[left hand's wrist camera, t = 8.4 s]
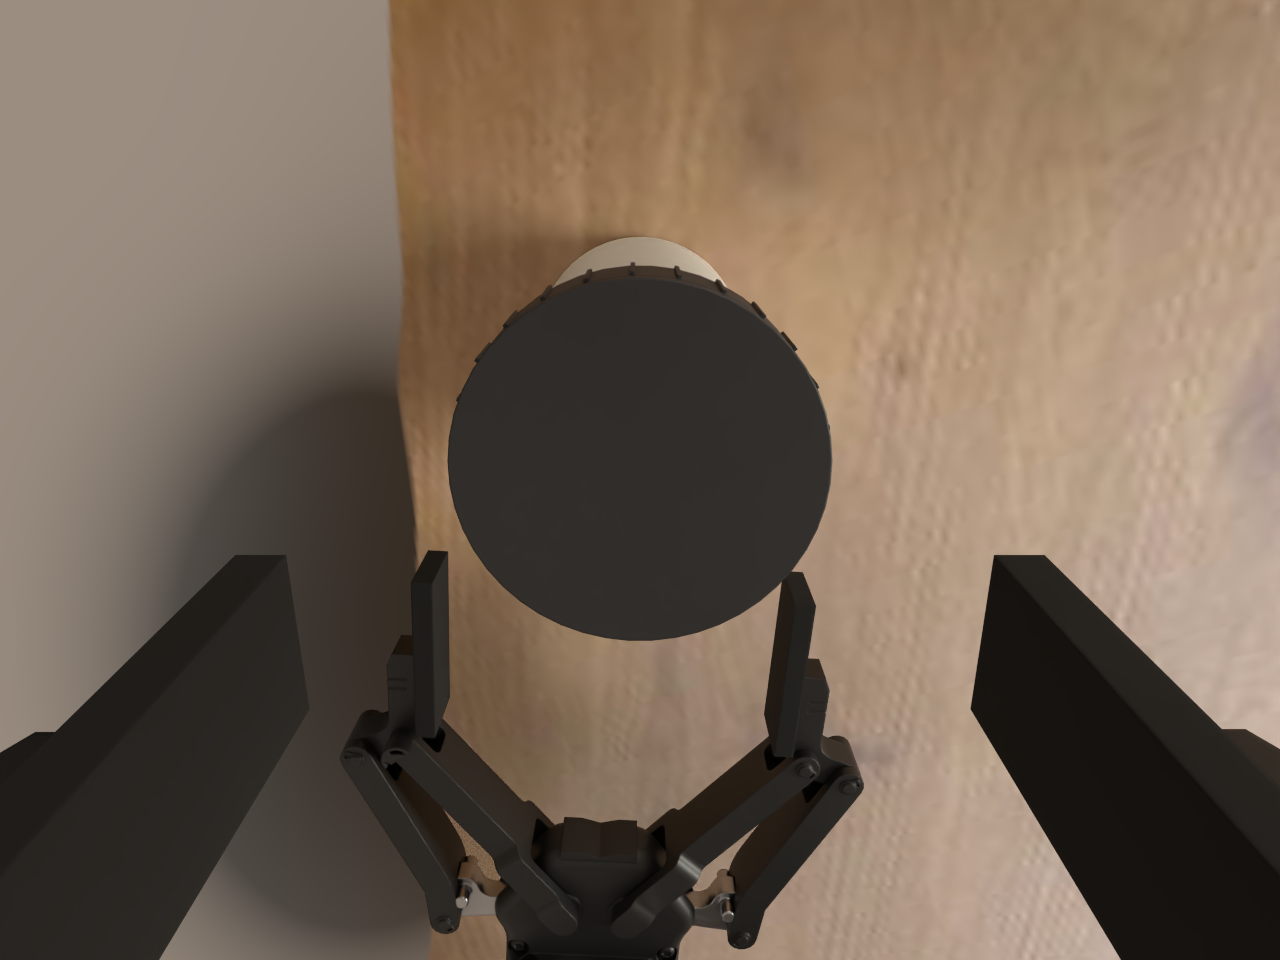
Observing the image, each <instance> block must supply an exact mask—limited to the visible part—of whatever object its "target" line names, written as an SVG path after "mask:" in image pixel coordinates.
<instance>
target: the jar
mask: <svg viewBox="0 0 1280 960" xmlns="http://www.w3.org/2000/svg"><path fill="white" fill-rule="evenodd" d="M631 262H635V266H659V267H666V268H674V266H679V268H680V270H682V271H686V272H690V273H693V274H697V275H700V276H703V277H705V278H707V279H710V280H712V281H714V282H715V281H716V279H718V280H720V281H721V282H722V284H723V285H724V286H725V287H726V288H727V286H726V285H725V283H724V282H723V281H722V279H721V278H720V276H719V275H718V274H717V272H716V271H715V270H714V269H713V268H712V267H711V266H710V265H709V264H708V263H707V262H706V261H704V260H703V259H702V258H701V257H699V256H698V255H697V254H695V253H694V252H692V251H690V250H689V249H687V248H685V247H683V246H681V245H678V244H676V243H674V242H670V241H667V240H663V239H658V238H651V237H629V238H622V239H617V240H613V241H610V242H606V243H604V244H602V245H599V246H597V247H595V248H593V249H591V250H590V251H588V252H586V253H585V254H583V255H582V256H581V257H579V258H578V259H577V260H576V261H574V262H573V263H572V264H571V265H570V266H569V267H568V268H567V269H566V270H565V271H564V272H563V274H562V275H561V276H560V278H559V279H558V281H557V282H556V283H555V285H554V286H553V288H554V287H555V286H557V285H559V284H561V283H563V282H566V281H568V280H570V279H573V278H575V277H577V276H580V275H583V274H586V272H587V270H588V269H592V272H594V271H598V270H601V269H606V268H614V267H621V266H630V265H631Z"/></svg>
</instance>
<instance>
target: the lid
mask: <svg viewBox="0 0 1280 960" xmlns="http://www.w3.org/2000/svg"><path fill="white" fill-rule="evenodd" d="M503 327H504V328H503V330H502V331H501V332H500V333H499V335H498V336H497V337H496V338H495V340H494V341H493V342H492V343H490V342H489V343H488V344H487V345H486V347H485V348H484V349H483V350H482V352H481V353H480V354H479V355H478V356H477V358H476V359H475V362H476V363H477V364H476V365H475V367H474V368H473V370H472V372H471V374H470V376H469V378H468V380H467V381H466V383H465V385H464V387H463V389H462V391H461V393H460V394H459V396H458V397H457V400H456V401H457V402H458V403H457V406H456V408H455V411H454V415H453V420H452V425H451V430H450V435H449V446H448V472H449V485H450V489H451V494H452V498H453V503H454V507H455V510H456V513H457V516H458V518H459V521H460V524H461V526H462V529H463V531H464V533H465V535H466V537H467V539H468V541H469V543H470V544H471V546H472V548H473V550H474V552H475V553H476V554H477V556H478V557H479V559H480V560H481V561H482V563H483V564H484V566H485V567H486V569H487V570H488V571H489V572H490V573H491V574H492V575H493V576H494V577H495V579H496V580H497V581H498V582H499V583H500V584H501V585H502V586H503V587H504V588H505V589H506V590H507V591H509V592H510V593H511V594H512V595H513V596H515V597H516V598H517V599H518V600H519V601H520V602H522V603H523V604H525V605H526V606H528V607H529V608H531V609H533V610H534V611H536V612H537V613H539V614H540V615H542V616H544V617H546V618H548V619H550V620H552V621H554V622H556V623H558V624H560V625H563V626H566V627H568V628H571V629H574V630H577V631H579V632H582V633H586V634H591V635H595V636H599V637H603V638H610V639H619V640H628V641H653V640H661V639H670V638H677V637H681V636H685V635H689V634H694V633H698V632H701V631H703V630H706V629H709V628H712V627H714V626H717V625H720V624H722V623H724V622H726V621H728V620H730V619H732V618H734V617H736V616H738V615H740V614H741V613H743V612H744V611H746V610H747V609H749V608H750V607H752V606H754V605H755V604H757V603H758V602H760V601H761V600H762V599H763V598H764V597H765V596H767V595H768V594H769V593H770V592H771V591H772V590H774V589H775V588H776V587H777V586H778V585H779V584H780V583H781V582H782V581H783V580H784V579H785V577H786V576H787V575H788V574H789V573H790V572H791V571H792V570H793V569H794V567H795V566H796V564H797V563H798V561H799V560H800V559H801V557H802V556H803V554H804V553H805V551H806V550H807V548H808V546H809V544H810V542H811V541H812V539H813V537H814V535H815V533H816V531H817V529H818V526H819V524H820V521H821V518H822V515H823V513H824V510H825V507H826V503H827V498H828V493H829V489H830V484H831V472H832V446H831V435H830V426H829V424H828V420H827V415H826V411H825V409H824V406H823V403H822V400H821V397H820V394H819V392H818V388H819V386H818V384H817V383H816V381H815V380H814V379H813V378H812V376H811V375H810V374H809V372H808V370H807V368H806V367H805V365H804V364H803V362H802V361H801V360H800V358H799V357H798V355H797V354H796V353H795V351H796V350H797V348H796V346H795V345H794V344H793V343H792V341H791V340H790V339H789V338H788V337H787V335H786V334H785V333H784V332H781V333H780V332H779V331H778V330H777V328H776V327H775V326H774V325H773V324H772V323H771V322H770V321H769V320H768V319H767V318H766V315H765V314H764V312H763V311H762V310H761V309H760V307H759V306H758V305H757V304H756V303H755V302H754V301H753V302H752V303H751V304H750V303H749V302H748V301H747V300H745V299H744V298H743V297H742V296H740V295H738V294H737V293H735V292H733V291H731V290H730V289H728V288H726V287H725V286H724V285H723V284H722V282H721V281H720V280H718V279H716V281H715V282H714V281H712V280H710V279H707V278H705V277H703V276H700V275H697V274H693V273H690V272H686V271H682V270H680V268H679V266H674V268H666V267H659V266H635V262H631V265H630V266H621V267H614V268H606V269H601V270H598V271H594V272H592V269H588V270H587V272H586V274H583V275H580V276H577V277H575V278H573V279H570V280H568V281H566V282H563V283H561V284H559V285H557V286H555V287H554V288H552V286H551V285H550V286H548V287H547V288H546V290H545V291H544V292H543V294H542V295H540V296H538V297H537V298H536V299H535V300H533V301H532V302H531V303H530V304H528V305H527V306H526V307H525V308H523V309H522V310H521V311H520V312H519V313H518V311H517V310H516V311H515V312H514V313H513V314H512V315H511V316H510V317H509V319H508V320H507V321H506V322H505V324H504V325H503Z"/></svg>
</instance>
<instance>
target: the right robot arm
mask: <svg viewBox="0 0 1280 960" xmlns="http://www.w3.org/2000/svg"><path fill="white" fill-rule="evenodd" d="M411 605H412V636H410V635H401V637H400V639H399V641H398V643H397V645H396V647H395V649H394V651H393V653H392V655H391V657H390V659H389V662H388V664H387V678H388V680H387V681H388V707H389V711H387V712H384V713H381V712H379V711H377V710H368V711H365V712H363V713H362V714H361V716H360V717H359V719H358V721H357V723H356V725H355V727H354V729H353V731H352V733H351V735H350V737H349V739H348V741H347V743H346V745H345V747H344V749H343V751H342V753H341V756H340V761H341V763H342V765H343V767H344V769H345V770H346V772H347V773H348V775H349V776H350V778H351V779H352V781H353V782H354V784H355V785H356V787H357V789H358V790H359V792H360V793H361V795H362V796H363V798H364V799H365V801H366V802H367V804H368V805H369V807H370V809H371V810H372V812H373V813H374V815H375V816H376V818H377V819H378V821H379V822H380V824H381V825H382V827H383V829H384V830H385V832H386V833H387V835H388V836H389V838H390V839H391V841H392V842H393V844H394V845H395V847H396V849H397V850H398V852H399V853H400V855H401V856H402V858H403V859H404V861H405V862H406V864H407V866H408V867H409V868H410V870H411V871H412V873H413V875H414V876H415V878H416V879H417V881H418V882H419V884H420V886H421V887H422V889H423V890H424V892H425V895H426V901H427V907H428V913H429V919H430V924H431V926H432V928H433V929H434V930H435V931H437V932H439V933H442V934H449V933H452V932H454V931H456V930H457V928H458V927H459V923H460V919H461V916H480V915H496V916H497V918H498V920H499V921H500V923H501V924H502V926H503V927H504V929H505V931H506V935H507V952H506V960H678V954H679V945H680V942H681V940H682V938H683V936H684V935H685V934H686V933H687V932H688V931H689V929H690V928H691V926H692V925H693V926H701V927H708V928H715V929H722V930H727V936H728V942H729V944H730V945H731V946H733V947H734V948H737V949H746V948H749V947H751V946H752V945H754V943H755V941H756V939H757V936H758V932H759V929H760V926H761V922H762V919H763V916H764V912H765V910H766V909H767V907H768V906H769V905H770V904H771V902H772V901H773V900H774V899H775V898H776V896H777V895H778V894H779V893H780V891H781V890H782V889H783V888H784V887H785V885H786V884H787V883H788V882H789V880H790V879H791V878H792V877H793V876H794V874H795V873H796V872H797V871H798V869H799V868H800V867H801V866H802V865H803V863H804V862H805V861H806V860H807V858H808V857H809V856H810V855H811V854H812V852H813V851H814V850H815V849H816V848H817V846H818V845H819V844H820V843H821V841H822V840H823V839H824V838H825V837H826V835H827V834H828V833H829V832H830V830H831V829H832V828H833V827H834V826H835V824H836V823H837V822H838V821H839V819H840V818H841V817H842V816H843V815H844V813H845V812H846V811H847V810H848V808H849V807H850V806H851V805H852V804H853V802H854V801H855V800H856V799H857V798H858V796H859V795H860V794H861V792H862V790H863V789H864V783H863V780H862V777H861V774H860V771H859V769H858V766H857V763H856V760H855V757H854V755H853V752H852V749H851V746H850V744H849V742H848V740H847V739H845V738H844V737H841V736H832V737H829V738H827V737H825V736H823V735H822V734H823V728H824V722H825V716H826V709H827V703H828V697H829V687H828V684H827V680H826V677H825V675H824V672H823V669H822V666H821V663H820V661H819V659H808V655H809V649H810V642H811V635H812V629H813V622H814V615H815V609H816V605H815V602H814V600H813V597H812V595H811V592H810V590H809V587H808V585H807V582H806V579H805V577H804V574H803V572H790V573H789V574H788V575H787V576H786V577H785V579H784V580H783V581H782V585H781V592H780V600H779V607H778V615H777V622H776V630H775V637H774V645H773V652H772V659H771V667H770V674H769V682H768V689H767V697H766V704H765V712H764V716H765V720H766V724H767V729H768V733H769V737H767V738H766V739H765V740H764V741H763V742H761V743H760V744H759V745H758V746H757V747H755V748H754V749H753V750H752V751H751V752H749V753H748V754H747V755H746V756H744V757H743V758H742V759H741V760H740V761H738V762H737V763H736V764H735V765H734V766H732V767H731V768H730V769H729V770H728V771H726V772H725V773H724V774H723V775H721V776H720V777H719V778H718V779H717V780H715V781H714V782H713V783H712V784H711V785H709V786H708V787H707V788H706V789H705V790H703V791H702V792H701V793H700V794H698V795H697V796H696V797H695V798H694V799H692V800H691V801H690V802H689V803H688V804H686V805H685V806H684V807H683V808H682V809H680V810H677V809H675V808H673V809H671V810H669V811H668V812H666V813H665V814H664V815H663V816H662V817H660V818H659V819H658V820H657V821H656V822H654V823H653V824H652V825H651V826H650V827H648V828H647V829H646V830H645V829H643V828H640V827H637V821H631V820H615V821H609V822H603V823H599V822H595V821H592V820H588V819H584V818H574V817H564V823H560V824H556V825H554V824H553V823H552V822H551V821H550V820H549V819H548V818H547V817H546V816H545V814H544V813H543V812H542V811H541V810H540V809H539V808H538V807H537V806H536V805H535V804H534V803H533V802H531V801H526V802H523V801H522V800H521V799H520V798H519V797H518V796H517V795H516V794H515V793H514V792H513V791H512V790H511V789H510V788H509V787H508V786H507V785H506V784H505V783H504V782H503V781H502V780H501V778H500V777H499V776H498V775H497V774H496V773H495V772H494V771H493V770H492V769H491V768H490V767H489V766H488V765H487V764H486V763H485V762H484V761H483V760H482V759H481V758H480V757H479V756H478V755H477V754H476V753H475V752H474V751H473V750H472V749H471V748H470V747H469V745H468V744H467V743H466V742H465V741H464V740H463V739H462V738H461V737H460V736H459V735H458V734H457V733H456V732H455V731H454V730H453V729H452V728H451V727H450V726H449V725H448V724H447V723H446V722H445V721H444V720H443V719H442V717H443V714H444V712H445V709H446V706H447V703H448V700H449V697H450V679H449V594H448V552H447V551H430V550H428V552H427V554H426V555H425V557H424V559H423V561H422V563H421V565H420V567H419V568H418V570H417V572H416V574H415V576H414V578H413V580H412V581H411ZM443 809H444V810H445V811H446V812H447V813H448V814H449V815H450V816H451V817H452V818H453V819H454V820H455V821H456V822H457V823H458V824H459V825H460V826H461V827H462V828H463V829H464V830H465V831H466V832H467V833H468V834H469V835H470V836H471V837H472V838H473V839H474V840H475V841H476V842H477V843H479V844H480V845H481V846H482V847H483V848H484V849H485V850H486V851H487V852H488V853H489V854H490V855H491V857H492V858H493V860H494V864H495V868H496V870H497V872H498V874H499V875H500V877H501V878H500V881H496V880H491V879H489V878H487V877H486V876H485V875H484V874H483V872H482V870H481V868H480V867H479V866H478V865H477V864H478V859H477V858H476V857H475V856H471V855H470V856H467V857H466V853H465V848H464V846H463V843H462V840H461V838H460V837H459V835H458V833H457V831H456V829H455V828H454V826H453V825H452V823H451V821H450V820H449V818H448V816H447V815H446V813H445V812H444V810H443ZM758 824H759V825H758ZM757 825H758V826H757ZM756 826H757V827H756ZM754 827H756V829H755V830H754V831H753V832H752V834H751V835H750V836H749V838H748V839H747V840H746V841H745V843H744V844H743V845H742V846H741V848H740V849H739V851H738V852H737V854H736V855H735V857H734V859H733V861H732V863H731V866H730V869H729V871H728V870H726V869H721V870H719V871H718V872H717V878H716V879H715V880H714V881H713V882H712V884H711V885H710V887H709V888H707V889H706V890H703V891H693V888H692V887H693V886H694V885H695V884H696V882H697V881H698V879H699V876H700V874H701V871H702V870H703V868H704V867H705V866H707V865H708V864H709V863H710V862H712V861H713V860H714V859H715V858H717V857H718V856H719V855H720V854H722V853H723V852H724V851H725V850H727V849H728V848H729V847H730V846H732V845H733V844H734V843H735V842H737V841H738V840H739V839H740V838H742V837H743V836H744V835H746V834H747V833H748V832H749V831H751V830H752V829H753V828H754Z"/></svg>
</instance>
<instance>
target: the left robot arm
mask: <svg viewBox="0 0 1280 960" xmlns="http://www.w3.org/2000/svg"><path fill="white" fill-rule="evenodd" d="M308 711H309V704H308V697H307V690H306V684H305V677H304V671H303V664H302V657H301V651H300V645H299V638H298V631H297V625H296V618H295V612H294V605H293V599H292V592H291V586H290V579H289V572H288V566H287V559H286V555H235V556H234V557H233V558H232V559H231V560H230V561H229V562H228V563H227V564H226V565H225V566H224V567H223V568H222V569H221V570H220V571H219V572H218V573H217V574H216V575H215V576H214V577H213V578H212V579H211V580H210V581H209V582H208V583H207V584H206V585H205V586H204V587H203V588H202V589H201V590H200V591H199V592H197V593H196V594H195V595H194V596H193V597H192V598H191V599H190V600H189V601H188V602H187V603H186V604H185V605H184V606H183V607H182V608H181V609H180V610H179V611H178V612H177V613H176V614H175V615H174V616H173V617H172V618H171V619H170V620H169V621H168V622H167V623H166V624H165V625H164V626H163V627H162V628H161V629H160V630H159V631H158V632H157V633H156V634H155V635H154V636H153V637H152V638H151V639H150V640H149V641H148V642H147V643H145V644H144V645H143V646H142V647H141V648H140V649H139V650H138V651H137V652H136V653H135V654H134V655H133V656H132V657H131V658H130V659H129V660H128V661H127V662H126V663H125V664H124V665H123V666H122V667H121V668H120V669H119V670H118V671H117V672H116V673H115V674H114V675H113V676H112V677H111V678H110V679H109V680H108V681H107V682H106V683H105V684H104V685H103V686H102V687H101V688H100V689H99V690H98V691H97V692H96V693H95V694H94V695H93V696H92V697H91V698H90V699H88V700H87V702H85V703H84V704H83V705H82V706H81V707H80V708H79V709H78V710H77V711H76V712H75V713H74V714H73V715H72V716H71V717H70V718H69V719H68V720H67V721H66V722H65V723H64V724H63V725H62V726H61V727H60V728H59V729H58V730H57V731H56V732H35V733H33V734H31V735H30V736H28V737H26V738H24V739H23V740H21V741H19V742H18V743H16V744H14V745H13V746H11V747H9V748H7V749H6V750H4V751H2V752H1V753H0V960H159V959H160V957H161V956H162V954H163V952H164V951H165V949H166V947H167V946H168V944H169V942H170V941H171V939H172V937H173V936H174V934H175V932H176V931H177V929H178V927H179V925H180V924H181V922H182V920H183V919H184V917H185V916H186V914H187V912H188V910H189V909H190V907H191V906H192V904H193V902H194V900H195V899H196V897H197V896H198V894H199V892H200V890H201V889H202V887H203V885H204V884H205V882H206V880H207V879H208V877H209V875H210V874H211V872H212V871H213V869H214V867H215V866H216V864H217V862H218V861H219V859H220V857H221V856H222V854H223V852H224V851H225V849H226V847H227V845H228V844H229V842H230V841H231V839H232V837H233V836H234V834H235V832H236V831H237V829H238V827H239V826H240V824H241V822H242V821H243V819H244V817H245V816H246V814H247V812H248V811H249V809H250V807H251V806H252V804H253V802H254V801H255V799H256V797H257V796H258V794H259V792H260V791H261V789H262V787H263V786H264V784H265V782H266V781H267V779H268V777H269V775H270V774H271V772H272V771H273V769H274V767H275V766H276V764H277V762H278V761H279V759H280V757H281V756H282V754H283V752H284V751H285V749H286V747H287V746H288V744H289V742H290V741H291V739H292V737H293V736H294V734H295V732H296V731H297V729H298V727H299V725H300V724H301V722H302V720H303V719H304V717H305V716H306V714H307V712H308ZM971 711H972V712H973V714H974V716H975V717H976V719H977V721H978V722H979V724H980V726H981V727H982V729H983V731H984V732H985V734H986V736H987V737H988V739H989V741H990V742H991V744H992V746H993V747H994V749H995V751H996V752H997V754H998V756H999V757H1000V759H1001V761H1002V762H1003V764H1004V766H1005V767H1006V769H1007V771H1008V772H1009V774H1010V776H1011V777H1012V779H1013V781H1014V782H1015V784H1016V786H1017V787H1018V789H1019V791H1020V792H1021V794H1022V796H1023V797H1024V799H1025V801H1026V802H1027V804H1028V806H1029V807H1030V809H1031V811H1032V812H1033V814H1034V816H1035V817H1036V819H1037V821H1038V822H1039V824H1040V826H1041V827H1042V829H1043V831H1044V832H1045V834H1046V836H1047V837H1048V839H1049V841H1050V842H1051V844H1052V846H1053V847H1054V849H1055V851H1056V852H1057V854H1058V856H1059V857H1060V859H1061V861H1062V862H1063V864H1064V866H1065V867H1066V869H1067V871H1068V872H1069V874H1070V876H1071V877H1072V879H1073V881H1074V882H1075V884H1076V886H1077V887H1078V889H1079V891H1080V892H1081V894H1082V896H1083V897H1084V899H1085V901H1086V902H1087V904H1088V906H1089V907H1090V909H1091V911H1092V912H1093V914H1094V916H1095V917H1096V919H1097V921H1098V922H1099V924H1100V926H1101V927H1102V929H1103V931H1104V932H1105V934H1106V936H1107V937H1108V939H1109V941H1110V942H1111V944H1112V946H1113V947H1114V949H1115V951H1116V952H1117V954H1118V956H1119V957H1120V959H1121V960H1280V749H1279V748H1277V747H1275V746H1273V745H1272V744H1270V743H1268V742H1267V741H1265V740H1263V739H1261V738H1260V737H1258V736H1256V735H1255V734H1253V733H1251V732H1249V731H1248V730H1246V729H1221V728H1220V727H1219V726H1218V725H1217V724H1216V723H1215V722H1214V721H1213V720H1212V719H1211V718H1210V717H1209V716H1208V715H1207V714H1206V713H1205V712H1204V711H1203V710H1202V709H1201V708H1200V707H1199V706H1198V705H1197V704H1196V703H1195V702H1194V701H1193V700H1192V699H1191V698H1190V697H1189V696H1187V695H1186V694H1185V693H1184V692H1183V691H1182V690H1181V689H1180V688H1179V687H1178V686H1177V685H1176V684H1175V683H1174V682H1173V681H1172V680H1171V679H1170V678H1169V677H1168V676H1167V675H1166V674H1165V673H1164V672H1163V671H1162V670H1161V669H1160V668H1159V667H1158V666H1157V665H1156V664H1155V663H1154V662H1153V661H1152V660H1151V659H1150V658H1149V657H1148V656H1147V655H1146V654H1145V653H1144V652H1143V651H1142V650H1141V649H1140V648H1139V647H1138V646H1137V645H1136V644H1135V643H1133V642H1132V641H1131V640H1130V639H1129V638H1128V637H1127V636H1126V635H1125V634H1124V633H1123V632H1122V631H1121V630H1120V629H1119V628H1118V627H1117V626H1116V625H1115V624H1114V623H1113V622H1112V621H1111V620H1110V619H1109V618H1108V617H1107V616H1106V615H1105V614H1104V613H1103V612H1102V611H1101V610H1100V609H1099V608H1098V607H1097V606H1096V605H1095V604H1094V603H1093V602H1092V601H1091V600H1090V599H1089V598H1088V597H1087V596H1086V595H1085V594H1084V593H1083V592H1082V591H1080V590H1079V589H1078V588H1077V587H1076V586H1075V585H1074V584H1073V583H1072V582H1071V581H1070V580H1069V579H1068V578H1067V577H1066V576H1065V575H1064V574H1063V573H1062V572H1061V571H1060V570H1059V569H1058V568H1057V567H1056V566H1055V565H1054V564H1053V563H1052V562H1051V561H1050V560H1049V559H1048V558H1047V557H1046V556H1045V555H994V559H993V566H992V572H991V579H990V585H989V592H988V599H987V605H986V612H985V618H984V625H983V631H982V638H981V644H980V651H979V657H978V664H977V671H976V677H975V684H974V690H973V697H972V703H971Z"/></svg>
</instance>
